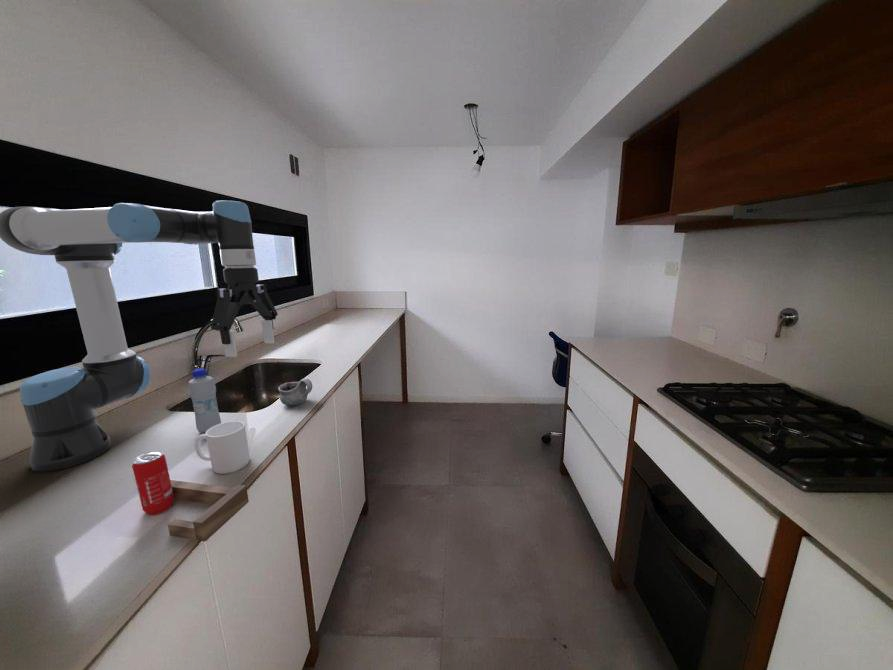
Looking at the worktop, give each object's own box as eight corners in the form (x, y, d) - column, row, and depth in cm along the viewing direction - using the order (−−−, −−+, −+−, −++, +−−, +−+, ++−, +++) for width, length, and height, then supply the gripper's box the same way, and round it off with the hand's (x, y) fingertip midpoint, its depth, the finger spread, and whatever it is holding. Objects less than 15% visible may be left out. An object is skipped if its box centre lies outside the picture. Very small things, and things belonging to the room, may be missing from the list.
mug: (290, 398, 133) (287, 372, 130) (321, 399, 131) (319, 373, 129) (274, 409, 123) (271, 381, 121) (308, 410, 121) (305, 382, 119)
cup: (240, 473, 86) (234, 435, 84) (189, 476, 85) (181, 438, 83) (255, 455, 94) (250, 420, 92) (208, 457, 93) (202, 422, 91)
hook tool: (117, 527, 70) (113, 509, 69) (170, 491, 80) (166, 475, 79) (205, 541, 66) (201, 523, 65) (248, 501, 76) (246, 485, 75)
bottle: (191, 434, 106) (179, 371, 102) (213, 424, 112) (202, 364, 108) (206, 438, 104) (194, 373, 99) (228, 428, 110) (217, 366, 105)
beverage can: (157, 518, 72) (145, 465, 69) (137, 515, 73) (124, 463, 70) (181, 501, 77) (170, 451, 74) (161, 498, 78) (150, 449, 75)
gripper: (210, 268, 75) (226, 363, 80) (285, 265, 99) (293, 338, 104) (181, 269, 77) (198, 362, 82) (261, 265, 101) (271, 338, 105)
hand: (251, 349), depth 93 cm, fingers open, 13 cm apart
